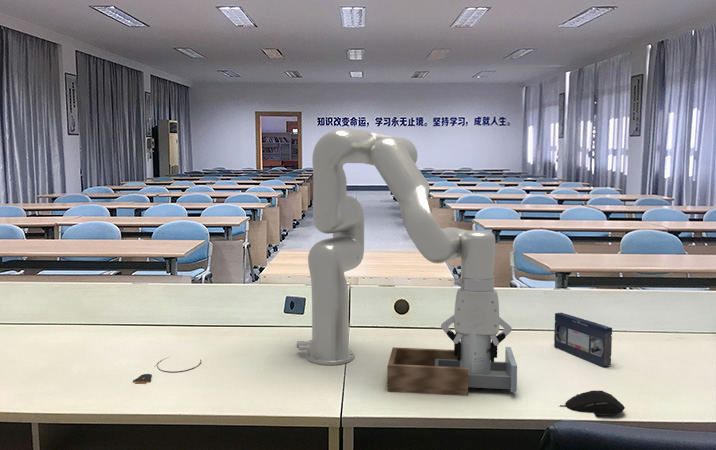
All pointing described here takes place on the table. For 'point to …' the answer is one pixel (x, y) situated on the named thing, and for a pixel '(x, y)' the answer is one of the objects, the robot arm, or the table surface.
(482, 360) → the skincare box
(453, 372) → the housing
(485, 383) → the tray
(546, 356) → the table surface
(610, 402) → the gaming mouse
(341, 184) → the robot arm
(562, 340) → the vhs cassette tape
